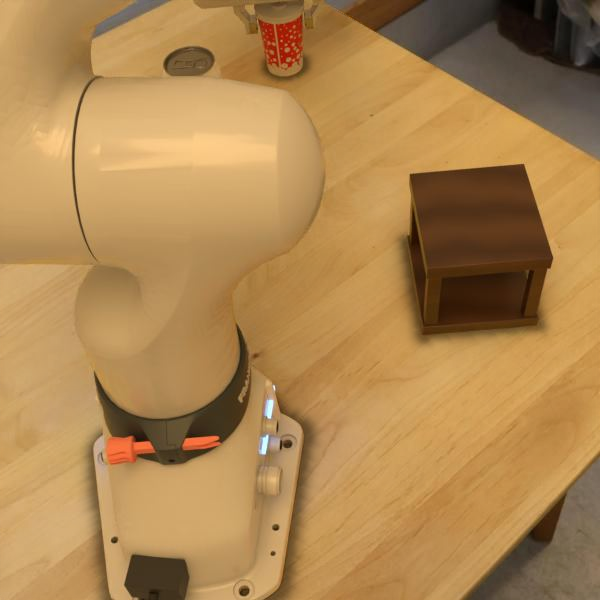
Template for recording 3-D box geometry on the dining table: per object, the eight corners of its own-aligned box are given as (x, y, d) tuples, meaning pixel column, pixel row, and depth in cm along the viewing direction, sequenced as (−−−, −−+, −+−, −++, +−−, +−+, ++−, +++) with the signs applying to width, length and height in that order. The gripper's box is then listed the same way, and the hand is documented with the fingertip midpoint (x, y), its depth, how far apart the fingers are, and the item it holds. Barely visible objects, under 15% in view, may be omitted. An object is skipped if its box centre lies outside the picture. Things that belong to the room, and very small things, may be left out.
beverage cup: (313, 53, 111) (306, -48, 100) (302, 82, 107) (293, -19, 96) (268, 48, 112) (257, -51, 101) (256, 77, 109) (242, -23, 98)
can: (231, 163, 99) (216, 78, 90) (176, 165, 100) (155, 81, 90) (235, 126, 103) (220, 41, 94) (182, 128, 104) (162, 44, 94)
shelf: (536, 325, 82) (553, 257, 74) (422, 335, 82) (427, 268, 75) (511, 233, 90) (524, 163, 82) (406, 242, 90) (409, 173, 82)
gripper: (176, -56, 93) (197, 51, 104) (364, -73, 92) (365, 36, 103) (179, -85, 97) (199, 21, 108) (358, -102, 96) (360, 6, 107)
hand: (281, 28), depth 106 cm, fingers closed on beverage cup, 6 cm apart
